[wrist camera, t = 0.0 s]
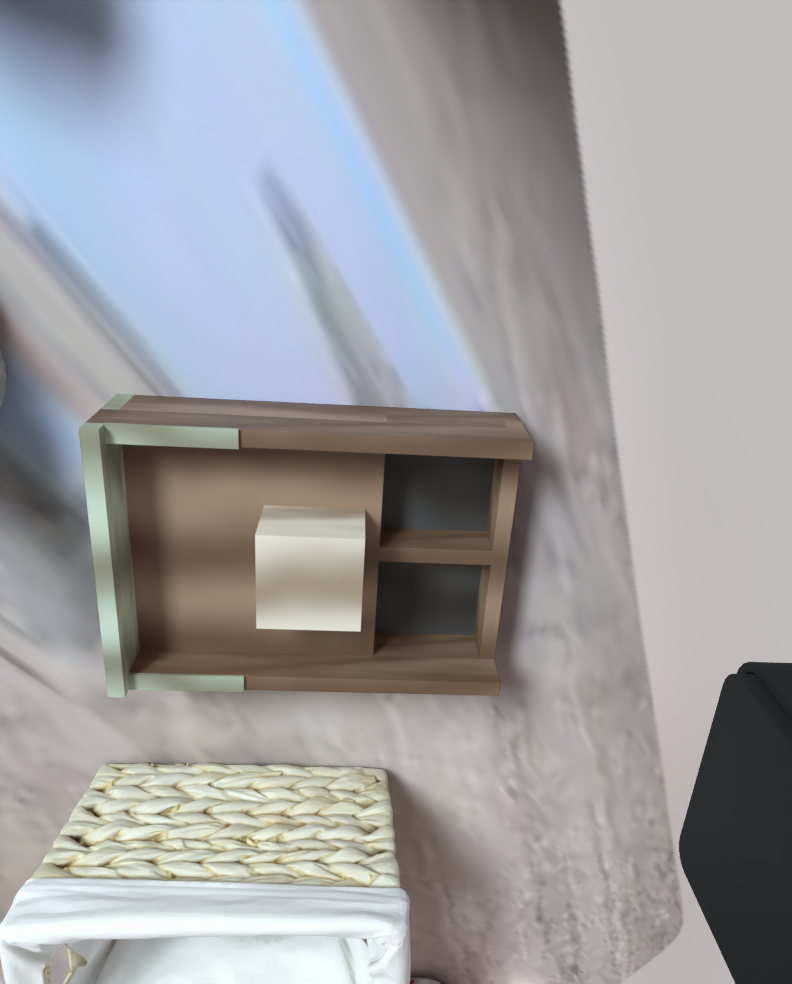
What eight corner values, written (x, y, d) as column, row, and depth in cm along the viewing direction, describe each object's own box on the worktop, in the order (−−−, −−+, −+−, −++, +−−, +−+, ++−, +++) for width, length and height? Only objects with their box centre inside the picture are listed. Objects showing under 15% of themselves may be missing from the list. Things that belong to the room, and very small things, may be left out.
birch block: (263, 505, 44) (255, 534, 41) (364, 509, 45) (365, 539, 41) (264, 592, 47) (256, 628, 43) (360, 595, 47) (360, 631, 43)
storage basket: (101, 899, 61) (26, 1107, 47) (77, 742, 55) (-17, 931, 41) (394, 898, 62) (402, 1100, 49) (404, 745, 56) (416, 928, 42)
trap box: (117, 393, 44) (78, 427, 38) (515, 412, 46) (538, 448, 40) (138, 636, 51) (108, 697, 45) (485, 645, 52) (501, 706, 46)
